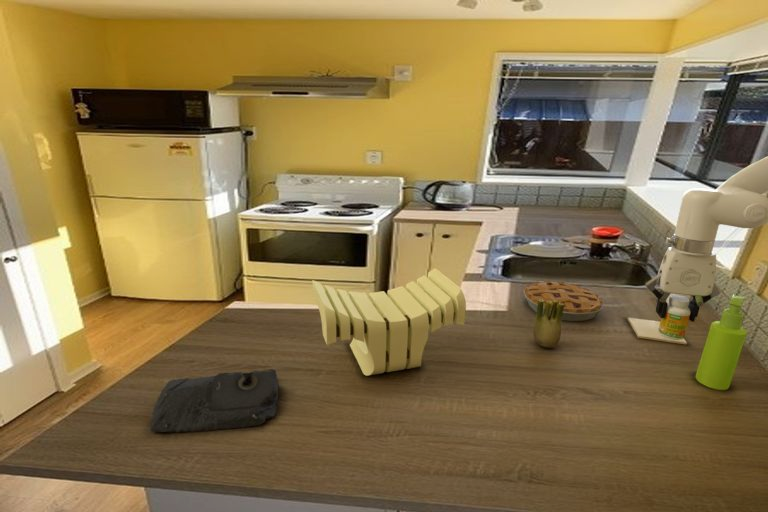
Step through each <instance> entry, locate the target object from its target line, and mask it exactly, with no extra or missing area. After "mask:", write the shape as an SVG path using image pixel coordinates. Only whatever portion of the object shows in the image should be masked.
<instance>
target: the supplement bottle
mask: <svg viewBox="0 0 768 512" xmlns="http://www.w3.org/2000/svg"><path fill="white" fill-rule="evenodd" d="M690 301H691V300H690V298H689V299H688V298H686V297H683V296H679V295H671V296H670V297H669V301H668V302H669V303H668V305H667V310H666V314H665V318H660V321H659V322H660V325H659V329H658V332H659V334H660V335H662V336H664V337H666V338H669V339H673V340H681V339H683V338H684V339H685V337H686V333H687V328H688V325H689V321H690V320H689V317H690V313H691V311H690V309H689V308H688V306H689V302H690Z"/></svg>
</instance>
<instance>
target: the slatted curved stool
mask: <svg viewBox="0 0 768 512" xmlns="http://www.w3.org/2000/svg"><path fill="white" fill-rule="evenodd" d="M311 281H312V293H313V296H314V298H315V302H316V304H317V307H318V311H319V315H320V320H321V329H322V330H321V331H322V337H323V339H324V341H325V344H326V346H329V345H332V344H334V343H337V338H339V339H340V341H341V342H342V341H349V340H351V336H352V337H353V338H352V341H351V342H350V343H349V347H350V349H351V352H352V353H353V355H354V357H355V359H356V362H357V363H358V365H359V368H360V369H361V372H362V374H363V375H365V376H367V377H368V376H373V375H379V374H384V373H392V372H397V371H402V370H403V371H404V370H405V369H407V370H408V369H409V370H410V369H413V368H420V367H422V358H423V353H424V351H425V350H424V349H425V347H426V344H427V342H428V340H429V330H430V332H431V333H434V332H435V331H437V330H438V329H440V328H442V325H444V327H446V326H453V325H454V324H455V325H457V326H465V324H466V323H465V321H466V312H467V301H466V297H465V294H464V292H463V290H462V288H461V287H460V286H459V285H457V284H456V283H455V282H454V281H453V280H451V279H450V278H449V277H447V276H446V275H444V273H442V272H441V271H440V270H438V269H437V268H436V267H435V268H433V269H431V270H430V271H428V272H427V275H425V274H424V275H422V276H420V277H418V278H417V279H416V282H415V281H414V280H412V281H410V282H408V283H406V284H405V287H404V286H403V285H400V286H397V287H395V288H394V287H393V288H391V289H388V290H387V292H385V291H384V290H383V291H382V290H381V291H373V292H368V295H367V293H366V292H359V291H348V292H349V293H347V291H346V290H345V289H340V288H337V289H336V290H337V291H335V289H334V287H332V286H329V285H326V284H324V287H323V285H322V283H321V282H320V281H319V282H318V281H316V280H313V279H312V280H311Z"/></svg>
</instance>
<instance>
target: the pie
mask: <svg viewBox="0 0 768 512" xmlns="http://www.w3.org/2000/svg"><path fill="white" fill-rule="evenodd" d="M523 295H524V298H525V299H526V301H527V303H528V306H529V307H530V308H531V309H533V311H534V312H536V313H537V307H538V300H543V314H544V310H545V305H546V301H552V304H551V309H550V313H549V316H550V314H551V310H552V305H553V300H556V301H558V304H559V302H560V303H563V304H564V305H565V306H564V309H563V313H562V317H561V321H565V322H566V321H568V322H583V321H584V322H585V321H588V320H591V319H594V318H595V316H596V315H597V314H598V313H599V312H601V311H602V309H603V308H604V304H603V301H602V298H600V297H599V295H598V294H597V293H595V292H592V291H590V289H588V288H586V287H580V286H579V285H578V284H575V283H571V284H569V283H565V282H564V281H560V280H559V281H557V282H553V281H551V280H545V281H544V282H543V281H542V282H541V281H534V282H532V283H528V284H526V287H525V288H524V289H523ZM558 304H557V307H558Z"/></svg>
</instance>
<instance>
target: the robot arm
mask: <svg viewBox="0 0 768 512" xmlns="http://www.w3.org/2000/svg"><path fill="white" fill-rule="evenodd" d="M765 193H768V156H765V157H763V158H761V159H759V160H757V161H755V162H753V163H751V164H749V165H748V166H746V167H743V168H742V169H741V170H739V171H738V172H736V173H734V175H732V176H730V177H729V178H728V179H726V180H725V181H724V182H723V183H722V184H720V185H719V186H718V187H716V189H709V188H708V189H707V188H691V189H688V190H686V191H685V192H684V193H683V195H682V199H681V202H680V203H681V204H680V208H679V212H678V217H677V222H676V226H675V230H674V234H672V237H666V239H665V244H666V245H670V246H669V247H667V250H666V251H665V253H664V255H663V258H662V260H661V262H660V266H659V269H658V272H657V274H656V275H655V276H654V277H652V278H651V279H650V280H648V281H646V282H645V284H644V286H645V287H646V288H647V289H648V290H649V291H650V292H651V293H652V294H653V295H654V296H655V297H656V298H657V302H656V305H655V306H656V307H655V313H656V314H657V316H659V318H660V319H661V318H665V314H666V310H667V305H668V303H667V302H666V300H667V298H668V297H669V295H670V294H671V293H673V294H683V295H690V296H691V300H690V302H689V306H688V308H689V309H690V311H691V313H690V317H689V321H690V322H693V323H694V322H695V320H696V318H697V317H698V315H699V311H700V308H701V307H703V305H704V304H705V303H706V302H708V301H710V300H712V298H715V297H717V296H720V295H721V291H720V289H719V288H718V286H717V285H716V284H715V278H716V270H717V269H716V268H717V253H716V252H714V251H713V249H714V246H715V242H716V238H717V235H718V231H719V226H720V225H722V226H728V227H735V228H741V229H755V228H759V227H762V226H764V225H766V224H768V196H766V195H763V194H765ZM656 286H659V288H660V289H659V290H658V288H656Z"/></svg>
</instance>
